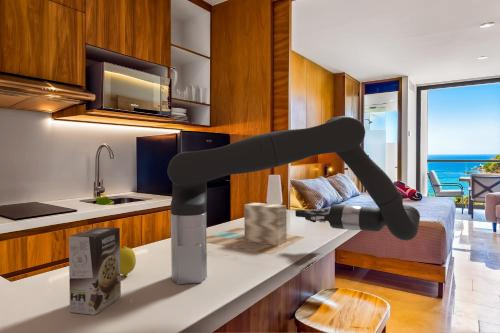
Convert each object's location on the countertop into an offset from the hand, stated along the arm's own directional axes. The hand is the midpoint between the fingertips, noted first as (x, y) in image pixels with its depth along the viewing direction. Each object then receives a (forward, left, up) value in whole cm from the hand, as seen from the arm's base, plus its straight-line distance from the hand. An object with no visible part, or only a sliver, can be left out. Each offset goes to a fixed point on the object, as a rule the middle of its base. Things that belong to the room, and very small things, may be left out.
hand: (296, 213), depth 112 cm
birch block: (+8, +9, -11) cm, 17 cm away
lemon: (-13, +53, -13) cm, 56 cm away
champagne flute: (+28, 0, -13) cm, 31 cm away
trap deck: (+13, +13, -13) cm, 22 cm away
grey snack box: (-30, +56, -13) cm, 65 cm away
